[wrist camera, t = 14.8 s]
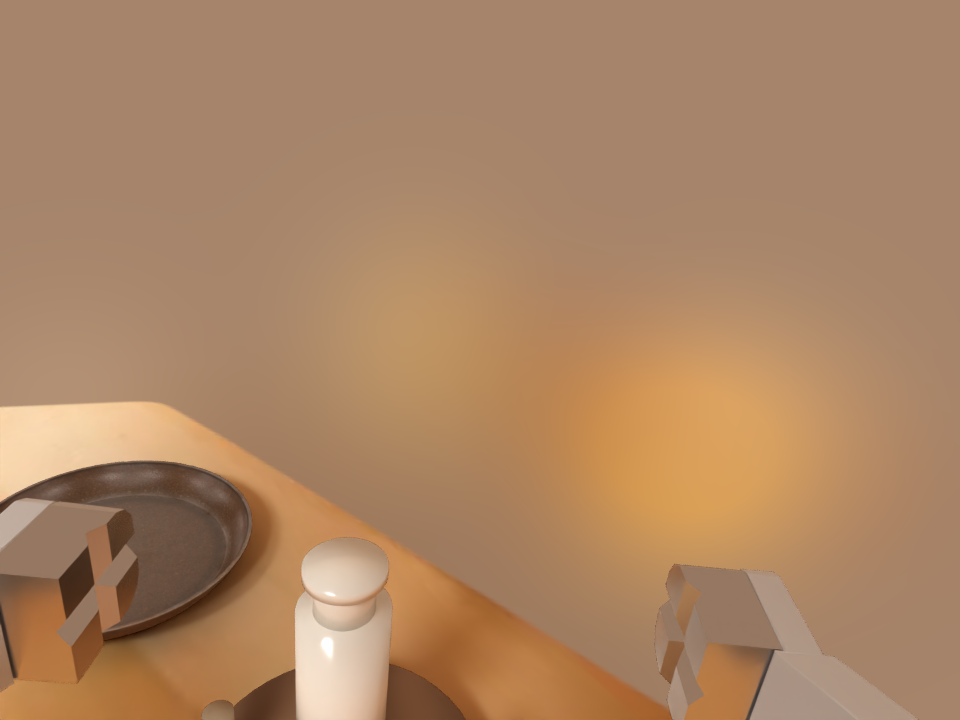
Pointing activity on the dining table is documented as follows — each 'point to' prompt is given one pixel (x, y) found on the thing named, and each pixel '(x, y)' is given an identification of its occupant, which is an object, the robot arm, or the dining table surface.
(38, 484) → the plant saucer
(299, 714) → the bud vase
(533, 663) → the dining table surface
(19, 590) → the robot arm
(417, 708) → the pedestal
